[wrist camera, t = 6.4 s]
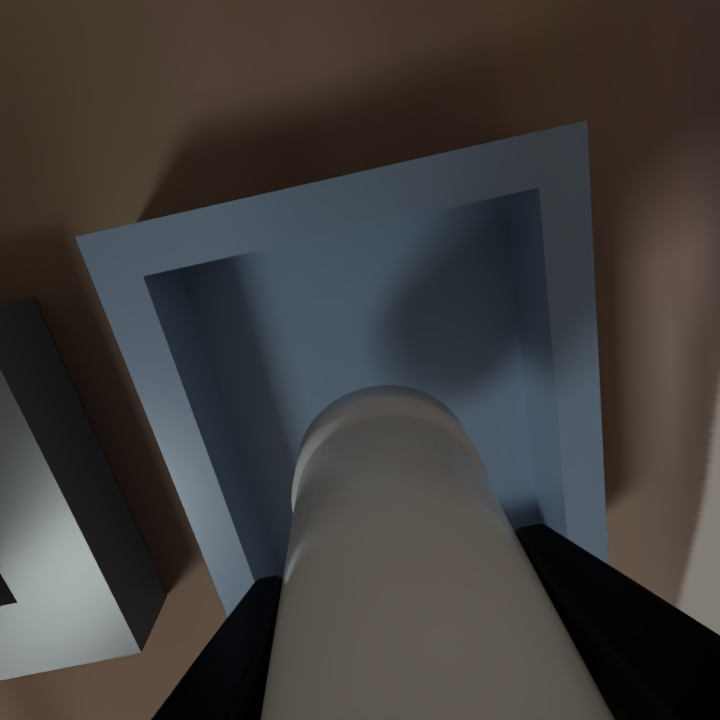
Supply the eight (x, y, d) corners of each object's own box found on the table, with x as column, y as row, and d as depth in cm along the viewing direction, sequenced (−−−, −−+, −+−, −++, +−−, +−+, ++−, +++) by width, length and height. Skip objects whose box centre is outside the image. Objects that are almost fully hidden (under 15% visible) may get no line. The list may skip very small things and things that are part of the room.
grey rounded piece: (320, 553, 11) (266, 1431, 3) (276, 406, 9) (-1, 1252, 2) (482, 520, 10) (856, 1352, 3) (458, 367, 9) (994, 1096, 2)
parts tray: (265, 600, 15) (250, 675, 13) (131, 231, 11) (75, 236, 9) (567, 541, 15) (610, 605, 12) (533, 139, 11) (587, 120, 8)
